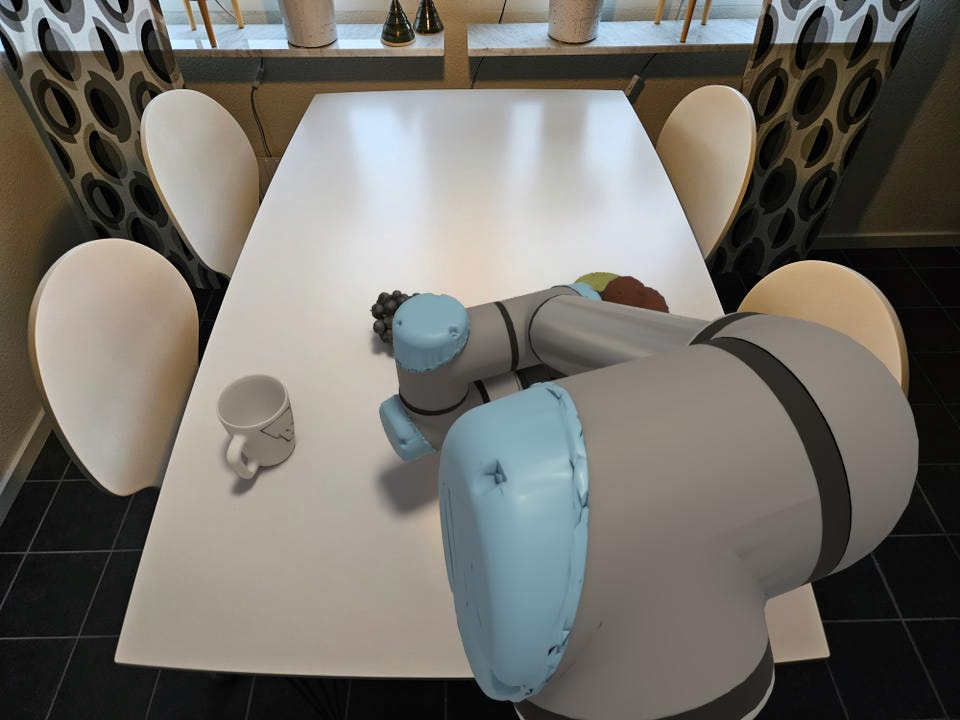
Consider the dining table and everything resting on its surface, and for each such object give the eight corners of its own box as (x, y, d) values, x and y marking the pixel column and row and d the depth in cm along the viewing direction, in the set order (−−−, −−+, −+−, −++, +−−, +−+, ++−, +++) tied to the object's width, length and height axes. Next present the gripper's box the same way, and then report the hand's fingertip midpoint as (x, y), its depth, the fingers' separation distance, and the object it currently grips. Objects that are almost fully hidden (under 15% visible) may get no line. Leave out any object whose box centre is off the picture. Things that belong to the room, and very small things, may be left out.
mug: (278, 500, 80) (258, 454, 72) (215, 488, 81) (189, 442, 74) (313, 427, 87) (298, 378, 80) (255, 416, 88) (234, 368, 81)
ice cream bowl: (585, 402, 84) (601, 319, 73) (574, 341, 92) (587, 257, 81) (665, 400, 85) (693, 317, 74) (647, 339, 92) (671, 256, 81)
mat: (573, 328, 100) (574, 319, 99) (565, 280, 108) (566, 271, 107) (645, 327, 101) (647, 318, 99) (632, 280, 108) (634, 271, 107)
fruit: (470, 279, 94) (366, 280, 93) (473, 329, 91) (365, 332, 90) (468, 307, 102) (373, 309, 101) (471, 355, 99) (372, 357, 98)
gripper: (460, 342, 86) (593, 287, 93) (562, 472, 72) (708, 396, 80) (459, 300, 80) (600, 245, 88) (570, 433, 67) (725, 355, 74)
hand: (651, 317), depth 84 cm, fingers closed on ice cream bowl, 11 cm apart
